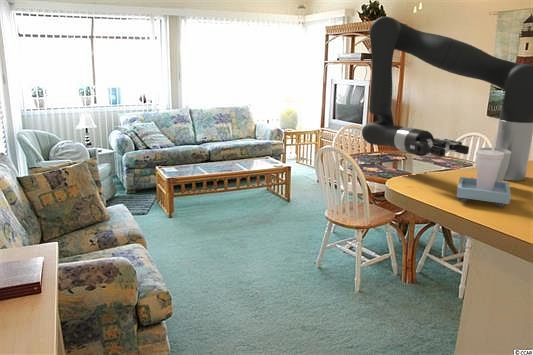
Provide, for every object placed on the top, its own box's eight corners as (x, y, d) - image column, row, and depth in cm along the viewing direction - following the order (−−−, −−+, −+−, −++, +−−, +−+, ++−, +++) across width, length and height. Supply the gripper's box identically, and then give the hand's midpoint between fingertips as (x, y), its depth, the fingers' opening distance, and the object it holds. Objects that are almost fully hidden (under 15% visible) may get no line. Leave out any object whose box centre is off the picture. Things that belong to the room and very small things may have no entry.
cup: (502, 182, 130) (507, 148, 127) (508, 190, 122) (514, 154, 119) (472, 179, 132) (476, 146, 129) (476, 187, 124) (481, 152, 122)
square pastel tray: (458, 191, 120) (460, 176, 119) (506, 197, 116) (508, 182, 115) (455, 203, 110) (457, 187, 109) (508, 210, 105) (511, 194, 104)
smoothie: (501, 194, 109) (511, 137, 106) (473, 192, 111) (482, 136, 107) (494, 187, 115) (503, 133, 112) (468, 185, 117) (475, 132, 113)
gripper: (395, 129, 129) (437, 139, 115) (432, 127, 135) (477, 136, 121) (393, 155, 131) (434, 167, 117) (430, 151, 137) (473, 163, 123)
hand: (456, 151), depth 119 cm, fingers open, 8 cm apart
